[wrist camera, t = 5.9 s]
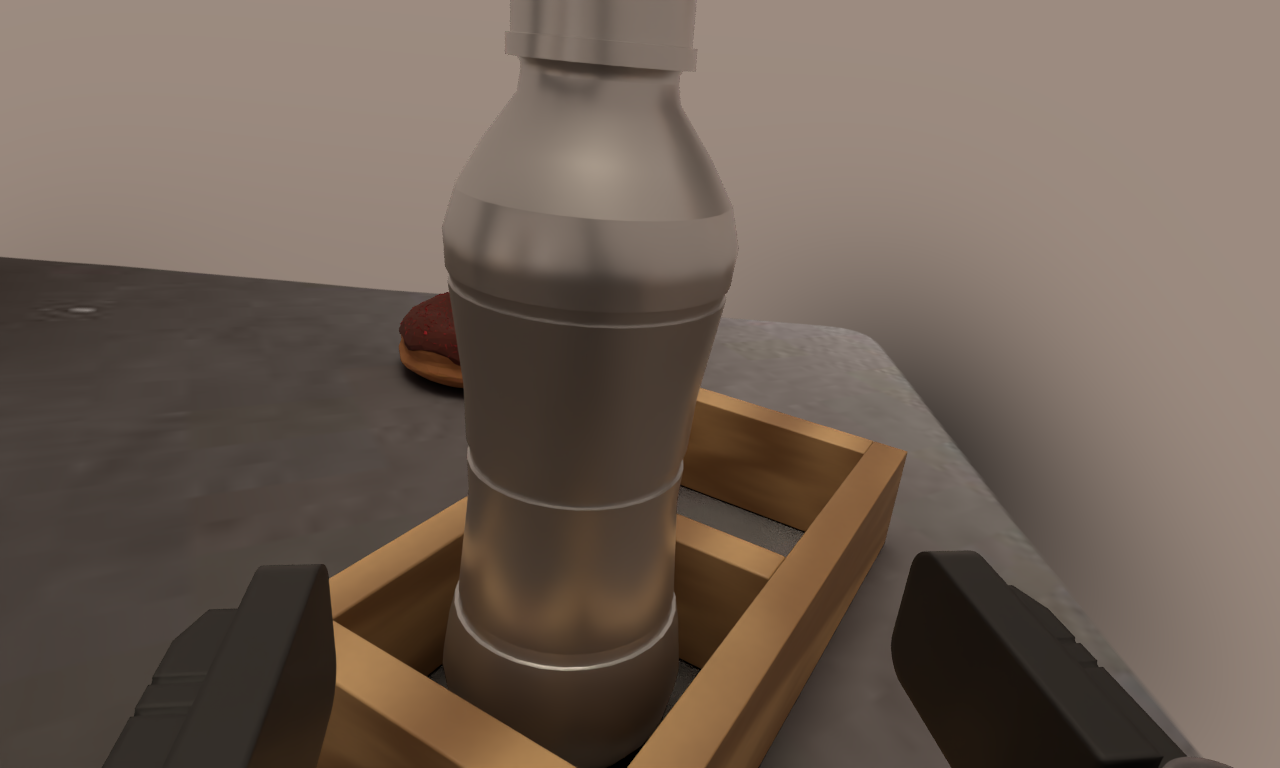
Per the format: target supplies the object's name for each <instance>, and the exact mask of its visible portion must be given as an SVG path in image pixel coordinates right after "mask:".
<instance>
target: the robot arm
mask: <svg viewBox="0 0 1280 768" xmlns="http://www.w3.org/2000/svg"><path fill="white" fill-rule="evenodd" d="M891 652H892V660H893V665H894V669H895V672H896V675H897V677H898V679H899V681H900V683H901V685H902V687H903V688H904V690H905V692H906V693H907V695H908V696H909V698H910V700H911V701H912V703H913V705H914V706H915V708H916V710H917V711H918V713H919V715H920V716H921V718H922V720H923V721H924V723H925V725H926V726H927V728H928V730H929V731H930V733H931V735H932V736H933V738H934V739H935V741H936V743H937V744H938V746H939V748H940V749H941V751H942V753H943V754H944V756H945V758H946V759H947V761H948V763H949V764H950V766H951V768H1233V767H1231V766H1228V765H1226V764H1223V763H1219V762H1217V761H1213V760H1209V759H1205V758H1198V757H1187V756H1186V755H1185V753H1184V752H1183V751H1182V750H1181V749H1180V748H1179V747H1178V746H1177V745H1176V744H1175V743H1174V742H1173V741H1172V740H1171V739H1170V738H1169V736H1168V735H1167V734H1166V733H1165V732H1164V731H1163V730H1162V729H1161V728H1160V727H1159V726H1158V725H1157V724H1156V723H1155V722H1154V721H1153V720H1152V718H1151V717H1150V716H1149V715H1148V714H1147V713H1146V712H1145V711H1144V710H1143V709H1142V708H1141V707H1140V706H1139V705H1138V704H1137V703H1136V701H1135V700H1134V699H1133V698H1132V697H1131V696H1130V695H1129V694H1128V693H1127V692H1126V691H1125V690H1124V689H1123V688H1122V687H1121V686H1120V685H1119V683H1118V682H1117V681H1116V680H1115V679H1114V678H1113V677H1112V676H1111V675H1110V674H1109V673H1108V672H1107V671H1106V670H1105V669H1104V668H1103V667H1098V665H1097V660H1096V659H1095V658H1094V657H1093V656H1092V655H1091V654H1090V653H1089V652H1088V651H1087V649H1086V648H1085V647H1084V646H1083V645H1082V644H1081V643H1076V642H1075V637H1074V636H1073V635H1072V634H1071V633H1070V631H1069V630H1068V629H1067V628H1066V627H1065V626H1064V625H1063V624H1062V623H1061V622H1060V621H1059V620H1058V619H1057V618H1056V617H1055V616H1054V614H1053V613H1052V612H1051V611H1050V610H1049V609H1048V608H1046V607H1045V606H1043V605H1042V604H1040V603H1038V602H1037V601H1035V600H1034V599H1032V598H1031V597H1029V596H1028V595H1026V594H1025V593H1023V592H1022V591H1020V590H1019V589H1017V588H1016V587H1014V586H1013V585H1007V584H1006V582H1005V581H1004V580H1003V579H1002V578H1001V577H1000V576H999V575H998V574H997V573H996V571H995V570H994V569H993V568H992V567H991V566H990V565H989V564H988V563H987V562H986V560H985V559H984V558H983V557H982V556H981V555H980V554H978V553H976V552H974V551H930V552H921V553H919V554H917V555H916V557H915V558H914V560H913V562H912V565H911V568H910V572H909V575H908V579H907V583H906V586H905V590H904V594H903V597H902V601H901V605H900V609H899V612H898V616H897V620H896V623H895V627H894V631H893V635H892V642H891ZM335 686H336V650H335V639H334V628H333V618H332V607H331V596H330V586H329V576H328V571H327V568H326V566H325V565H324V564H311V565H269V566H260V567H259V568H258V569H257V570H256V572H255V574H254V576H253V578H252V580H251V582H250V584H249V586H248V589H247V591H246V593H245V595H244V597H243V599H242V601H241V603H240V605H239V607H238V609H212V610H208V611H207V612H206V613H204V614H203V615H202V616H201V617H200V618H199V619H198V620H196V621H195V622H194V623H193V624H192V625H191V626H189V627H188V628H187V629H186V630H185V631H184V632H183V633H181V634H180V635H179V636H178V637H177V638H176V639H175V640H173V642H172V643H171V645H170V647H169V649H168V650H167V652H166V654H165V656H164V658H163V659H162V661H161V663H160V665H159V667H158V668H157V670H156V672H155V674H154V675H153V677H152V684H151V685H148V686H147V688H146V690H145V692H144V693H143V695H142V697H141V699H140V700H139V702H138V704H137V706H136V708H135V714H134V717H130V718H129V720H128V722H127V724H126V725H125V727H124V729H123V731H122V733H121V734H120V736H119V738H118V740H117V741H116V743H115V745H114V747H113V749H112V750H111V752H110V754H109V756H108V758H107V759H106V761H105V763H104V765H103V766H102V768H317V764H318V760H319V756H320V753H321V749H322V745H323V741H324V737H325V734H326V730H327V726H328V722H329V719H330V715H331V711H332V706H333V701H334V695H335Z"/></svg>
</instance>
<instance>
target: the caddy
mask: <svg viewBox="0 0 1280 768" xmlns="http://www.w3.org/2000/svg"><path fill="white" fill-rule="evenodd" d="M906 456H907V451H903V450H900V449H897V448H894V447H891V446H887V445H884V444H881V443H878V442H873V441H871V440H868V439H865V438H861V437H858V436H855V435H852V434H848V433H845V432H842V431H839V430H835V429H832V428H829V427H826V426H822V425H819V424H816V423H813V422H809V421H806V420H803V419H800V418H796V417H793V416H790V415H787V414H783V413H780V412H777V411H774V410H771V409H767V408H764V407H761V406H758V405H754V404H751V403H748V402H745V401H741V400H738V399H735V398H732V397H728V396H725V395H722V394H719V393H715V392H712V391H709V390H706V389H702V388H700V389H699V393H698V396H697V400H696V405H695V411H694V416H693V421H692V426H691V432H690V437H689V442H688V447H687V451H686V454H685V456H684V459H683V473H682V478H681V483H680V485H682V486H685V487H688V488H690V489H693V490H696V491H698V492H701V493H704V494H706V495H709V496H712V497H714V498H717V499H720V500H722V501H725V502H728V503H730V504H733V505H736V506H738V507H741V508H743V509H746V510H749V511H751V512H754V513H757V514H759V515H762V516H765V517H767V518H770V519H773V520H775V521H778V522H781V523H783V524H786V525H789V526H791V527H794V528H797V529H799V530H802V531H805V533H804V535H803V536H802V537H801V539H800V540H799V541H798V543H797V544H796V545H795V547H794V548H793V549H792V551H791V552H790V553H789V554H788V556H787V557H786V558H785V557H784V556H782V555H780V554H777V553H775V552H772V551H770V550H767V549H765V548H762V547H759V546H757V545H754V544H752V543H749V542H747V541H744V540H742V539H739V538H737V537H734V536H732V535H729V534H727V533H724V532H722V531H719V530H717V529H714V528H712V527H709V526H707V525H704V524H701V523H699V522H696V521H694V520H691V519H689V518H686V517H684V516H681V515H679V514H677V518H676V544H675V570H674V593H675V596H676V604H677V613H678V644H679V658H680V659H682V660H684V661H686V662H688V663H690V664H692V665H694V666H696V667H698V668H701V671H700V672H699V673H698V675H697V676H696V677H695V679H694V680H693V681H692V683H691V684H690V685H689V687H688V688H687V689H686V691H685V692H684V693H683V695H682V696H681V697H680V699H679V700H678V701H677V703H676V704H675V705H674V706H673V708H672V709H671V710H670V712H669V713H668V714H667V716H666V717H665V718H664V720H663V721H662V722H661V724H660V725H659V726H658V728H657V729H656V730H655V732H654V733H653V734H652V736H651V737H650V738H649V740H648V741H647V742H646V743H645V745H644V746H643V747H642V749H641V750H640V751H639V753H638V754H637V755H636V757H635V758H634V759H633V761H632V762H631V763H630V765H629V766H628V767H627V768H758V767H759V766H760V764H761V762H762V760H763V758H764V757H765V755H766V753H767V751H768V750H769V748H770V746H771V744H772V742H773V741H774V739H775V737H776V735H777V734H778V732H779V730H780V728H781V726H782V725H783V723H784V721H785V719H786V718H787V716H788V714H789V712H790V710H791V709H792V707H793V705H794V703H795V701H796V700H797V698H798V696H799V694H800V693H801V691H802V689H803V687H804V685H805V684H806V682H807V680H808V678H809V677H810V675H811V673H812V671H813V669H814V668H815V666H816V664H817V662H818V661H819V659H820V657H821V655H822V653H823V652H824V650H825V648H826V646H827V645H828V643H829V641H830V639H831V637H832V636H833V634H834V632H835V630H836V628H837V627H838V625H839V623H840V621H841V620H842V618H843V616H844V614H845V612H846V611H847V609H848V607H849V605H850V604H851V602H852V600H853V598H854V596H855V595H856V593H857V591H858V589H859V588H860V586H861V584H862V582H863V580H864V579H865V577H866V575H867V573H868V571H869V570H870V568H871V566H872V564H873V563H874V561H875V559H876V557H877V555H878V554H879V552H880V550H881V548H882V547H883V545H884V543H885V539H886V535H887V531H888V527H889V523H890V519H891V515H892V511H893V507H894V503H895V499H896V496H897V492H898V488H899V484H900V480H901V476H902V472H903V468H904V464H905V460H906ZM467 499H468V496H467V497H465V498H463V499H462V500H460V501H458V502H457V503H455V504H453V505H452V506H450V507H448V508H447V509H445V510H443V511H442V512H440V513H438V514H437V515H435V516H433V517H432V518H430V519H428V520H427V521H425V522H423V523H422V524H420V525H418V526H417V527H415V528H413V529H412V530H410V531H408V532H407V533H405V534H403V535H402V536H400V537H398V538H397V539H395V540H393V541H392V542H390V543H388V544H387V545H385V546H383V547H382V548H380V549H378V550H376V551H375V552H373V553H371V554H370V555H368V556H366V557H365V558H363V559H361V560H360V561H358V562H356V563H355V564H353V565H351V566H350V567H348V568H346V569H345V570H343V571H341V572H340V573H338V574H336V575H335V576H333V577H331V578H330V579H329V586H330V596H331V607H332V618H333V628H334V639H335V650H336V686H335V695H334V701H333V706H332V711H331V715H330V719H329V722H328V726H327V730H326V734H325V737H324V741H323V745H322V749H321V753H320V756H319V760H318V764H317V768H577V767H575V766H573V765H572V764H570V763H568V762H567V761H565V760H563V759H562V758H560V757H558V756H557V755H555V754H553V753H552V752H550V751H548V750H547V749H545V748H544V747H542V746H540V745H539V744H537V743H535V742H534V741H532V740H530V739H529V738H527V737H525V736H524V735H522V734H520V733H519V732H517V731H515V730H514V729H512V728H510V727H509V726H507V725H505V724H504V723H502V722H501V721H499V720H497V719H496V718H494V717H492V716H491V715H489V714H487V713H486V712H484V711H482V710H481V709H479V708H477V707H476V706H474V705H472V704H471V703H469V702H467V701H466V700H464V699H462V698H461V697H459V696H458V695H456V694H454V693H453V692H451V691H449V690H448V689H446V688H444V687H443V686H441V685H439V684H438V683H436V682H434V681H433V680H431V679H429V678H428V677H426V676H428V675H429V674H430V673H431V672H432V671H434V670H435V669H436V668H437V667H439V666H440V665H441V664H442V663H443V651H444V642H445V636H446V630H447V624H448V617H449V611H450V607H451V603H452V599H453V596H454V592H455V589H456V586H457V584H458V581H459V576H460V566H461V557H462V547H463V538H464V528H465V519H466V509H467Z"/></svg>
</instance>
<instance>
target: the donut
mask: <svg viewBox="0 0 1280 768" xmlns="http://www.w3.org/2000/svg"><path fill="white" fill-rule="evenodd" d="M400 325H401V326H400V328H399V332H400V334H401V338H402V340H401V342H400V344H399V352H400V358H401V362H402V363H403V364H404V365H405V366H406V367H407V368H408V369H410V370H412V371H413V372H415V373H417V374H419V375H420V376H422V377H424V378H426V379H428V380H430V381H433V382H437V383H440V384H443V385H447V386H451V387H458V388H464V386H463V378H462V372H461V365H460V358H459V352H458V345H457V339H456V332H455V326H454V319H453V313H452V306H451V300H450V293H449V292H447V293H444V294H439V295H437V296H435V297H433V298H431V299H429V300H427V301H425V302H422V303H420V304H419V305H417V306H415V307H413V308H412V309H411V310H410V312H409V313H408V314H407V315H406V316H405V317H404V318H403V321H402V322H401V323H400Z"/></svg>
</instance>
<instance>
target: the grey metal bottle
mask: <svg viewBox="0 0 1280 768" xmlns="http://www.w3.org/2000/svg"><path fill="white" fill-rule="evenodd" d="M695 12H696V0H510V31H506V32H505V54H508V55H515V56H518V58H519V60H520V68H521V69H520V75H519V81H518V87H517V91H516V92H515V94H514V95H513V97H512V98H511V99H510V100H509V102H508V103H507V104H506V106H505V107H504V108H503V110H502V111H501V112H500V114H499V115H498V116H497V118H496V119H495V120H494V122H493V123H492V124H491V126H490V127H489V128H488V130H487V131H486V132H485V134H484V135H483V136H482V138H481V139H480V141H479V142H478V144H477V146H476V147H475V149H474V151H473V152H472V154H471V156H470V158H469V159H468V161H467V163H466V164H465V166H464V167H463V169H462V171H461V173H460V174H459V176H458V178H457V179H456V181H455V184H454V188H453V191H452V194H451V198H450V201H449V205H448V208H447V212H446V215H445V218H444V222H443V225H442V232H443V243H444V258H445V267H446V269H447V271H448V273H449V277H448V287H449V293H450V300H451V306H452V313H453V319H454V326H455V332H456V339H457V345H458V352H459V358H460V365H461V372H462V378H463V386H464V406H465V427H466V440H467V442H468V445H469V446H468V452H467V466H468V484H469V490H468V499H467V509H466V519H465V528H464V538H463V547H462V557H461V566H460V576H459V581H458V584H457V586H456V589H455V592H454V596H453V599H452V603H451V607H450V611H449V617H448V624H447V630H446V636H445V642H444V651H443V667H444V672H445V677H446V682H447V686H448V690H449V691H451V692H453V693H454V694H456V695H458V696H459V697H461V698H462V699H464V700H466V701H467V702H469V703H471V704H472V705H474V706H476V707H477V708H479V709H481V710H482V711H484V712H486V713H487V714H489V715H491V716H492V717H494V718H496V719H497V720H499V721H501V722H502V723H504V724H505V725H507V726H509V727H510V728H512V729H514V730H515V731H517V732H519V733H520V734H522V735H524V736H525V737H527V738H529V739H530V740H532V741H534V742H535V743H537V744H539V745H540V746H542V747H544V748H545V749H547V750H548V751H550V752H552V753H553V754H555V755H557V756H558V757H560V758H562V759H563V760H565V761H567V762H568V763H570V764H572V765H573V766H575V767H577V768H607V767H609V766H611V765H613V764H615V763H616V762H618V761H619V760H621V759H623V758H624V757H626V756H627V755H629V754H630V753H632V752H633V751H635V750H636V749H637V748H639V747H640V746H641V745H642V744H643V743H644V742H645V741H646V740H647V739H648V738H649V737H650V736H651V735H652V734H653V733H654V731H655V729H656V727H657V726H658V724H659V722H660V721H661V719H662V717H663V714H664V711H665V709H666V706H667V704H668V701H669V698H670V696H671V693H672V690H673V688H674V685H675V682H676V678H677V674H678V671H679V644H678V613H677V604H676V596H675V593H674V570H675V544H676V518H677V499H678V494H679V489H680V483H681V478H682V473H683V459H684V456H685V454H686V451H687V447H688V442H689V437H690V432H691V426H692V421H693V416H694V411H695V405H696V400H697V396H698V393H699V389H700V386H701V382H702V379H703V376H704V372H705V369H706V366H707V362H708V359H709V356H710V352H711V349H712V346H713V342H714V339H715V335H716V332H717V329H718V325H719V322H720V319H721V315H722V312H723V308H724V305H725V302H726V297H725V294H726V293H727V292H728V290H729V288H730V286H731V281H732V276H733V272H734V267H735V262H736V258H737V254H738V249H739V248H738V240H737V233H736V226H735V219H734V212H733V207H732V204H731V201H730V199H729V197H728V195H727V193H726V190H725V188H724V186H723V184H722V181H721V179H720V177H719V175H718V173H717V170H716V168H715V166H714V164H713V161H712V159H711V157H710V155H709V154H708V152H707V150H706V148H705V147H704V145H703V143H702V142H701V140H700V138H699V136H698V135H697V133H696V131H695V129H694V128H693V126H692V124H691V122H690V121H689V119H688V117H687V115H686V114H685V112H684V110H683V108H682V107H681V105H680V91H679V80H680V75H681V74H682V72H683V71H695V69H696V59H697V49H693V48H692V46H693V35H694V24H695Z"/></svg>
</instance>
